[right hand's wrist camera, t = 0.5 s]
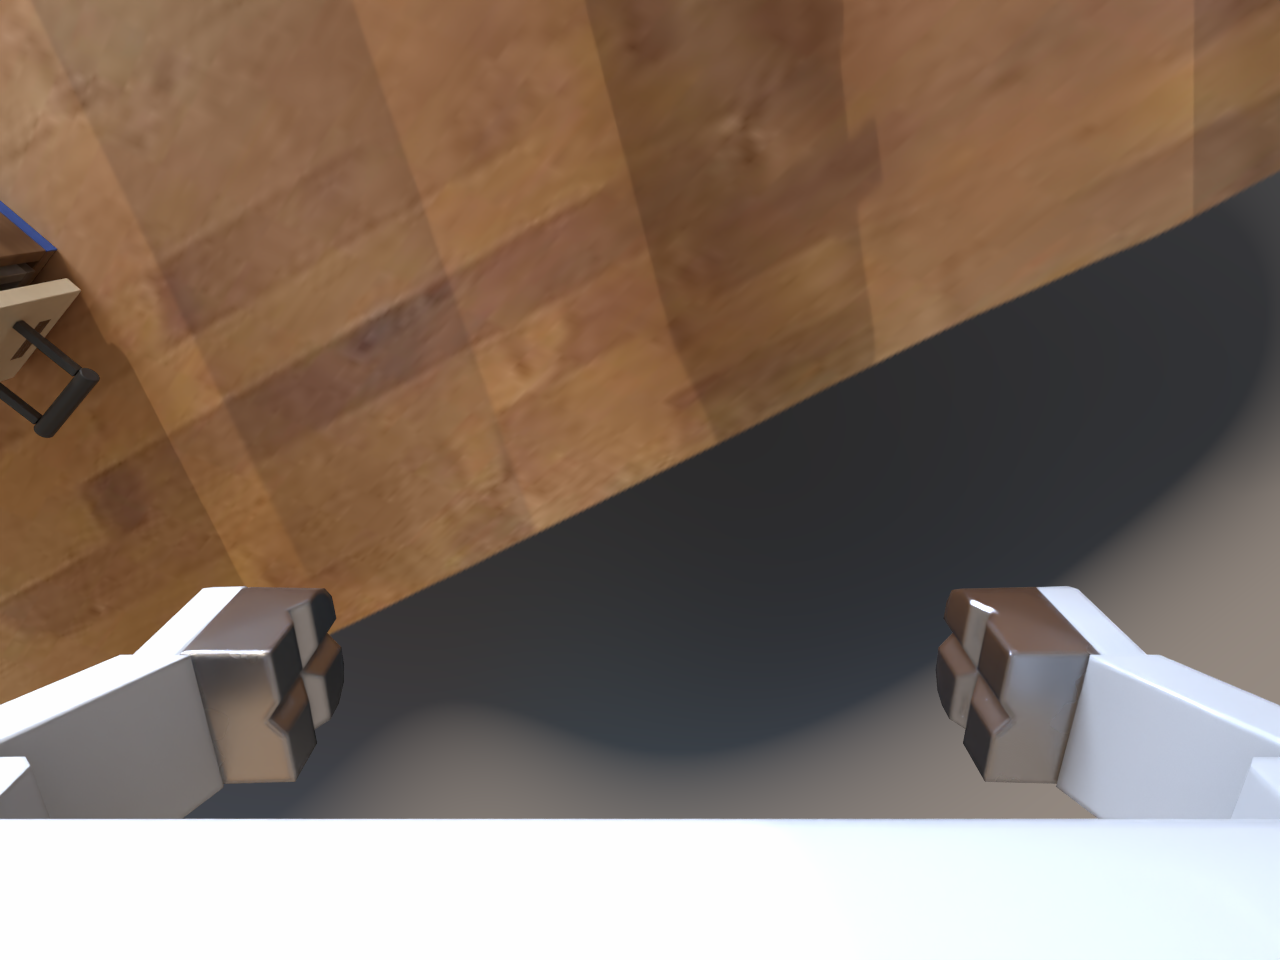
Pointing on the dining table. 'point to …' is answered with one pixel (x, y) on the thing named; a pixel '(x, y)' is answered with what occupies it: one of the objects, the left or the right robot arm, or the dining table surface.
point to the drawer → (37, 342)
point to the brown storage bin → (22, 243)
